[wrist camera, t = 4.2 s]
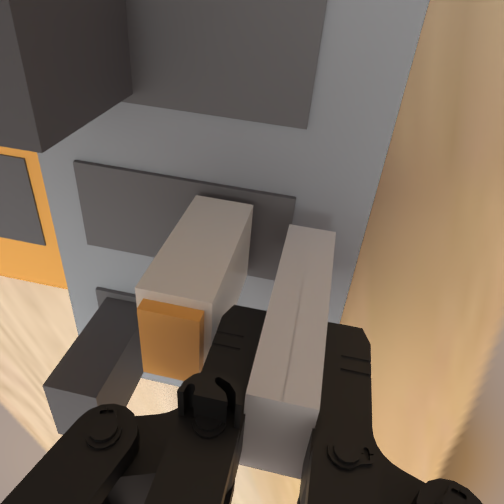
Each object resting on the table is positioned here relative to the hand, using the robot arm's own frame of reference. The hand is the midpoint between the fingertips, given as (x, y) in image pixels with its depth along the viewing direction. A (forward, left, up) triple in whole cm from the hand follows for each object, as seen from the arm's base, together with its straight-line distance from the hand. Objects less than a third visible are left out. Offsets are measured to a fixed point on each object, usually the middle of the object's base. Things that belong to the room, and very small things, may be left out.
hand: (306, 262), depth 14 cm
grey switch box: (0, -4, -5) cm, 7 cm away
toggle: (0, -3, -1) cm, 3 cm away
